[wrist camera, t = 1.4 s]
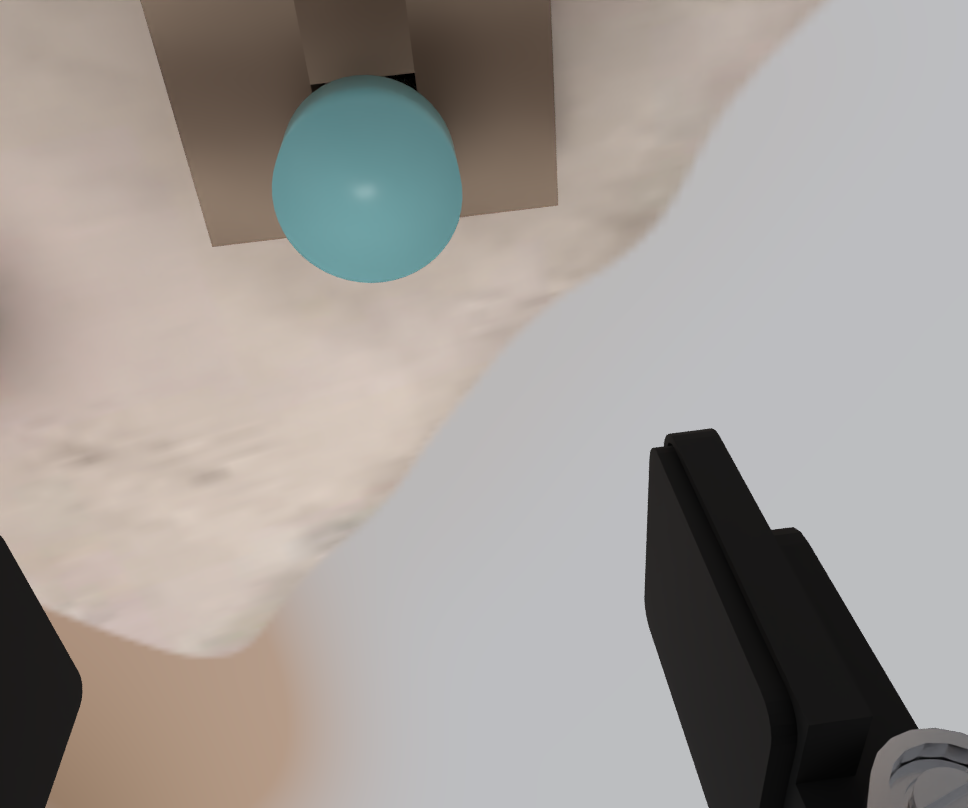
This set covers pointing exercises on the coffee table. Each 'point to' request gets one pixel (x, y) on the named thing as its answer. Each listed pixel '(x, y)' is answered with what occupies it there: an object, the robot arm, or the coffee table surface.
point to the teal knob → (367, 180)
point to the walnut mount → (347, 52)
